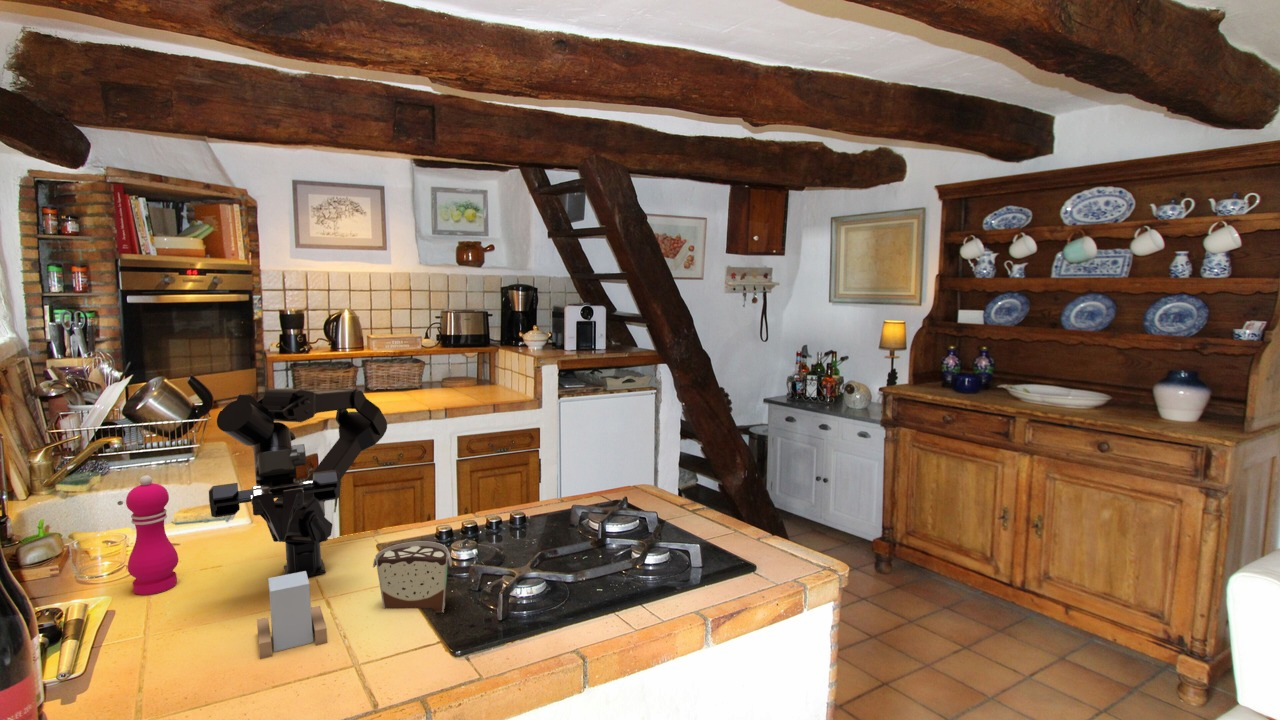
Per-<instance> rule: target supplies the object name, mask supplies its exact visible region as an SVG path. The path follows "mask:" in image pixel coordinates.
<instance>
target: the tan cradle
mask: <svg viewBox="0 0 1280 720" xmlns="http://www.w3.org/2000/svg"><path fill="white" fill-rule="evenodd" d="M321 607H322V606H321V605H317V606H316V605H315V606H312V607H311V618H312V634H313V640H314V643H315V646H318V645H319V646H320V645H323V644H327V643H328V632H327V625H326V621H325V618H324V614H323V611H322V608H321ZM269 620H270V618H269V617H268V616H266V617H262V618H258V619H256V626H257V639H258V648H259V649H258V650H259V659H260V660H262V659H267V658H270V657H273V648H272V647H273V643H272V634H271V629H270V621H269Z"/></svg>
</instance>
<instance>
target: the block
mask: <svg viewBox="0 0 1280 720" xmlns="http://www.w3.org/2000/svg"><path fill="white" fill-rule="evenodd" d="M267 580H268V592H269V593H268V594H269V595H268V596H269V607H270V608H269V609H270V611H269V612H270V620H271V621H270V623H271V639H272V647H273V652H274V653H275V652H280V651H284V650H289V649H291V648H296V647H300V646H304V645H305V646H306V645H308V644H309V645H310V644H313V643H314V635H313V631H312V618H311V608H312V607H311V591H310V590H311V589H310V586H311V585H310V581H309V578H308V577H307V573H306V571H303V572H298V573H293V574H287V575H285V574H283V575H278V576H273V577H268V579H267Z"/></svg>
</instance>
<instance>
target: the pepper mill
mask: <svg viewBox="0 0 1280 720" xmlns="http://www.w3.org/2000/svg"><path fill="white" fill-rule="evenodd" d="M139 483H140V484H139V485H137V486H135V487H133V488H132V489H131V490H129V492H128V493H127V495H126V499H125V504H126V505H125V506H126V508H127V509H128V510H129V511H130V512H132V514H131V515H130V518H131V524H133V525H134V526H135V531H136V532H135V533H136V537H135V542H134V545H133V547H132V550H131V552H130V555H129V557H128V562H127V572H128V574H129V575H130V576H132V577H133V578H135V579H134V580H133V581H132V589H133V593H134V594H136V595H138V596H149V595H150V596H151V595H157V594H160V593H163V592H165V591H168V590H171V589H173V588H174V587H176V585H177V584H178V580H177V579H178V577H177V573H176V571H174V570H175V569H176V567H178V564H179V555H178V552H177V550H176V548H175V546H174V545H173V544H172V542H171V541H170V540H169V538H168V536H167V533H166V529H165V520H166V519H167V518H168V515H167V509H166V508H165V507H166V506H167V504H168V503H169V500H170V497H169V492H168V490H167V488H165V486H164V485H161V484H159V483H154V482H153V478H152V477H151V476H150V475H147V474H146V475H143V476H141V478H140V479H139Z"/></svg>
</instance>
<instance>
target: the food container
mask: <svg viewBox="0 0 1280 720" xmlns="http://www.w3.org/2000/svg"><path fill="white" fill-rule="evenodd" d="M372 563H373V565H372V568H373V569H374V568H375V567H376V569H377V575H378V577H377V578H378V582H379V589H380V595H381V600H382V606H383V607H382V608H383V610H386V609H387V610H390V609H391V610H392V609H393V610H394V609H395V610H396V609H397V610H398V609H399V610H400V609H431V610H432V611H434V612H443V613H444V614H445V611H444V609H445V608H446V596H447V595H446V593H447V578H448V566H449V567H452V565H453V561H452V555H451V553H450V551H449V550H448V548H447V546H445V545H444V544H442V543H439V542H435V541H426V540H425V541H424V540H423V541H421V540H419V541H410V542H403V543H398V544H395V545H391V546H388V547H386V548H384V549H382V550H380V551H379V552H377V553H376V554H375V557H374V559H373V562H372ZM434 612H433V613H434Z"/></svg>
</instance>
